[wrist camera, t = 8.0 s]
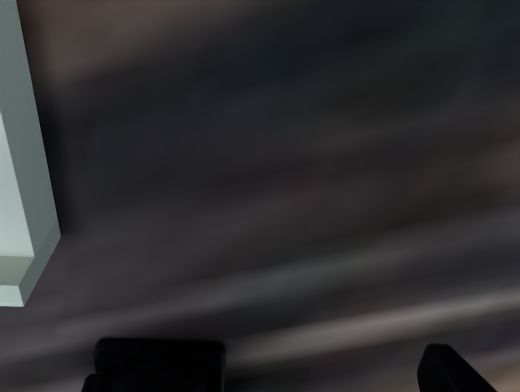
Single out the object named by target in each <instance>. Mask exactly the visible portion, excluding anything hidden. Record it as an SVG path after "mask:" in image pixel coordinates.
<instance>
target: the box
mask: <svg viewBox="0 0 520 392" xmlns="http://www.w3.org/2000/svg"><path fill="white" fill-rule="evenodd" d="M60 238H61V234H60V229H59V224H58V218H57V213H56V208H55V202H54V197H53V192H52V187H51V181H50V176H49V171H48V166H47V160H46V155H45V150H44V145H43V139H42V134H41V129H40V124H39V118H38V113H37V108H36V102H35V97H34V92H33V87H32V81H31V76H30V71H29V66H28V60H27V55H26V50H25V45H24V39H23V34H22V29H21V23H20V18H19V13H18V8H17V2H16V0H0V306H17V307H24V306H25V304H26V302H27V300H28V298H29V296H30V294H31V292H32V290H33V289H34V287H35V285H36V283H37V281H38V279H39V277H40V275H41V274H42V272H43V270H44V268H45V266H46V264H47V262H48V260H49V259H50V257H51V255H52V253H53V251H54V249H55V247H56V245H57V243H58V242H59V240H60Z"/></svg>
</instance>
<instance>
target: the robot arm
mask: <svg viewBox="0 0 520 392" xmlns="http://www.w3.org/2000/svg"><path fill="white" fill-rule="evenodd" d="M93 355H94V361H95V366H96V372H97V374H90V375H89V376H88V377H87V378H86V379H85V382H84V385H83V388H82V391H81V392H224V380H225V363H226V349H225V347H224V346H222V345H219V344H195V343H162V342H129V341H100V342H98V343H97V344H96V346H95V349H94V352H93ZM417 378H418V384H419V389H420V392H497V391H496V390H495V389H494V388H493V387H492V386H491V385H490V384H489V383H488V382H487V381H486V380H485V379H484V378H483V377H482V376H481V375H480V374H479V373H478V372H477V371H476V370H475V369H474V368H473V367H472V366H471V365H470V364H469V363H468V362H466V361H465V360H464V359H463V358H462V357H461V356H460V355H459V354H458V353H457V352H456V351H455V350H454V349H453V348H452V347H451V346H449V345H448V344H443V343H430V344H428V345H427V346H426V348H425V351H424V353H423V356H422V358H421V361H420V363H419V366H418V370H417Z"/></svg>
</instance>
